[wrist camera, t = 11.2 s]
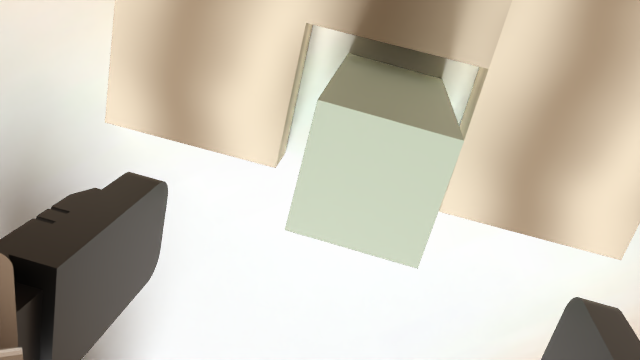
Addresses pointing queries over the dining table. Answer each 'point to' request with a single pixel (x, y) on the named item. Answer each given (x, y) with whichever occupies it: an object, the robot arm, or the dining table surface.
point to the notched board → (432, 38)
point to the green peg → (376, 161)
